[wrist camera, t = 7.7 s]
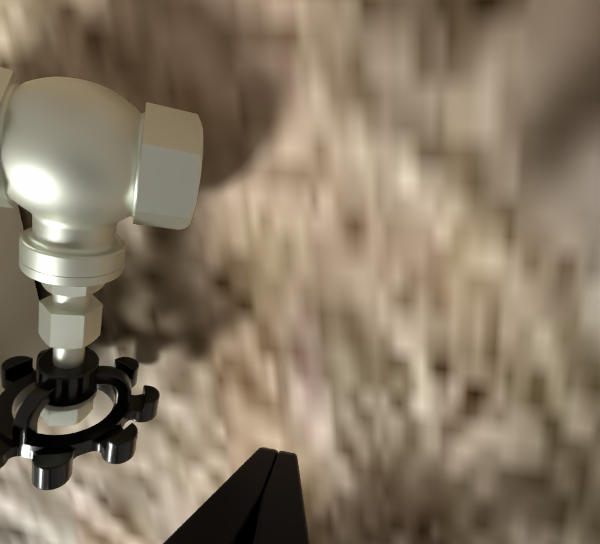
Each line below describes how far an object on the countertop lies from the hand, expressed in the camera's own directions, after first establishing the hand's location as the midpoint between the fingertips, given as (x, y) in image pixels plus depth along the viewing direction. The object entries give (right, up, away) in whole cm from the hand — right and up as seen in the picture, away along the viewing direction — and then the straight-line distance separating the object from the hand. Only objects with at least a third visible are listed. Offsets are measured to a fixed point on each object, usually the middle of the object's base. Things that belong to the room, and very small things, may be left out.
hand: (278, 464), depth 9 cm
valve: (-4, +4, +6) cm, 8 cm away
